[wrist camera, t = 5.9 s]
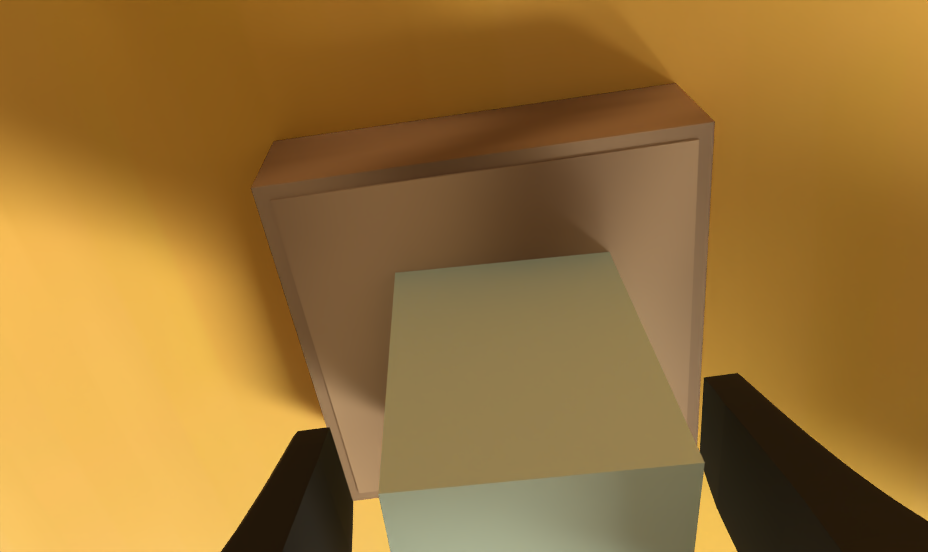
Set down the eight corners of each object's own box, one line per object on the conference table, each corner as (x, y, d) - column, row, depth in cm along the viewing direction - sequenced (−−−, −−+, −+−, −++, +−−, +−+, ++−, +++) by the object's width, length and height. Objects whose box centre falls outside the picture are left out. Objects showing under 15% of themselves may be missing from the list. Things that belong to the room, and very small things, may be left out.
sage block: (608, 252, 15) (704, 462, 10) (606, 414, 17) (681, 653, 12) (395, 272, 15) (378, 494, 10) (420, 432, 17) (418, 678, 12)
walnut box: (668, 76, 16) (715, 122, 14) (663, 380, 21) (696, 458, 18) (278, 133, 16) (250, 189, 14) (359, 421, 21) (349, 502, 19)
